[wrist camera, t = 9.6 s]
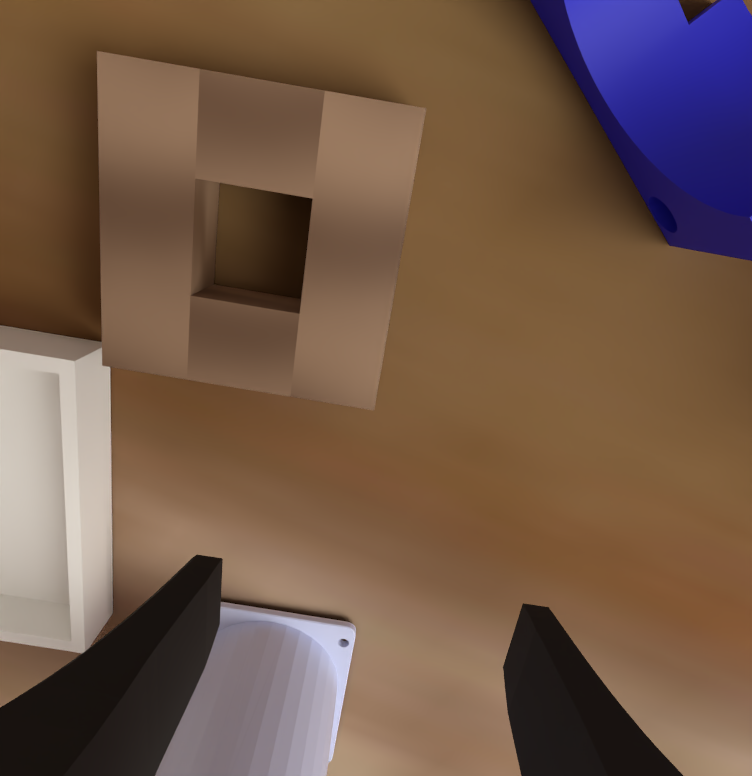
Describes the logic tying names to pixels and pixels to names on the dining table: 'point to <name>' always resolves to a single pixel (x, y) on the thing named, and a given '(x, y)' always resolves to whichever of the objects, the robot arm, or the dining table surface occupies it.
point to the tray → (54, 490)
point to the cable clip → (671, 107)
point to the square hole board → (200, 218)
